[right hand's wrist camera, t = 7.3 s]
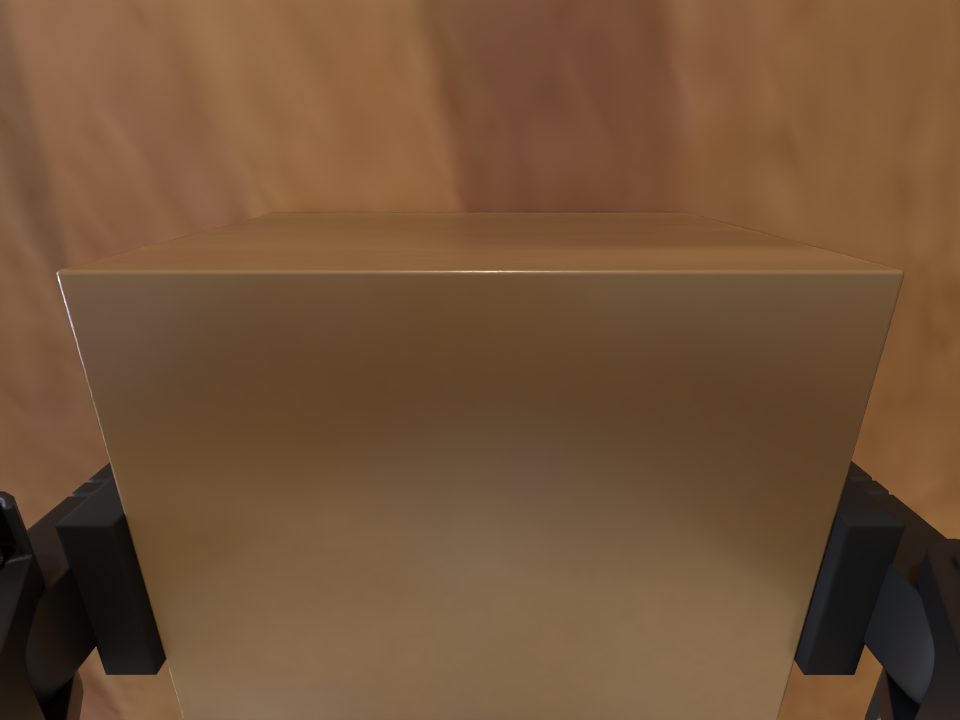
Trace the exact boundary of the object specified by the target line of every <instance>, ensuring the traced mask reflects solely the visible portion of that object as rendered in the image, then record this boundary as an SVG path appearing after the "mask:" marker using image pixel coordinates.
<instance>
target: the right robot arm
mask: <svg viewBox="0 0 960 720" xmlns="http://www.w3.org/2000/svg"><path fill="white" fill-rule="evenodd" d="M89 480H90V481H89V483H84V484H83V485H82V486H81V487H79V488H78V489H77V490H76V491H74V492H73V495H72V497H67V498H66V499H65V500H64V501H62V502H61V503H60V504H59V505H57V506H56V507H55V508H54V509H53V510H51V511H50V512H49V513H48V514H47V515H45V516H44V517H43V518H42V519H40V520H39V521H38V522H37V523H36V524H34V525H33V526H32V527H31V528H30V529H28V530H27V531H26V528H25V525H24V523H23V520H22V517H21V515H20V512H19V509H18V507H17V504H16V501H15V498H14V496H12V495H10V494H8V493H6V492H2V491H0V720H79V719H80V712H81V705H82V699H83V686H82V680H81V677H80V675H79V672H78V668H79V667H80V666H81V665H82V663H83V662H84V661H85V659H86V658H87V657H88V656H89V654H90V653H91V652H92V651H93V649H94V648H95V647H97V650H98V653H99V656H100V658H101V661H102V664H103V667H104V670H105V673H106V675H157V673H158V671H159V670H160V668H161V667H162V665H163V663H164V662H165V660H166V657H165V654H164V650H163V647H162V643H161V640H160V636H159V633H158V629H157V626H156V622H155V619H154V615H153V611H152V608H151V604H150V601H149V597H148V594H147V590H146V587H145V583H144V580H143V576H142V573H141V569H140V566H139V562H138V559H137V555H136V552H135V548H134V545H133V541H132V538H131V534H130V531H129V527H128V524H127V520H126V517H125V513H124V510H123V506H122V503H121V499H120V496H119V492H118V489H117V485H116V482H115V478H114V475H113V471H112V468H111V464H110V463H109V464H107V465H106V466H105V467H104V468H102V469H101V470H100V471H99V472H98V473H96V474H95V475H94V476H93V477H92V478H90V479H89ZM888 492H889V491H888V490H887V489H885V488H884V487H883V486H882V485H880V484H879V483H878V482H877V481H872V477H871V476H869V475H868V474H867V473H866V472H864V471H863V470H862V469H861V468H860V467H858V466H857V465H856V464H855V463H853V462H852V461H851V463H850V466H849V470H848V473H847V477H846V480H845V484H844V487H843V491H842V494H841V498H840V501H839V505H838V508H837V512H836V515H835V519H834V522H833V526H832V529H831V533H830V536H829V540H828V543H827V547H826V550H825V554H824V557H823V561H822V564H821V568H820V571H819V575H818V578H817V582H816V585H815V589H814V592H813V596H812V599H811V603H810V606H809V610H808V613H807V617H806V620H805V624H804V627H803V631H802V634H801V638H800V641H799V645H798V648H797V652H796V655H795V659H794V660H795V661H796V663H797V664H798V666H799V668H800V669H801V671H802V672H803V674H804V675H854V674H855V671H856V668H857V666H858V663H859V660H860V657H861V654H862V651H863V648H864V645H866V646H867V647H868V648H869V650H870V651H871V652H872V653H873V655H874V656H875V657H876V659H877V660H878V661H879V662H880V664H881V665H882V666H883V669H882V672H881V675H880V677H879V680H878V683H877V685H876V688H875V691H874V694H873V696H872V699H871V702H870V704H869V707H868V710H867V713H866V715H865V720H877V719H878V718H880V717H881V720H960V540H959V539H947V538H945V537H944V536H943V535H942V534H940V533H939V532H938V531H937V530H936V529H934V528H933V527H932V526H931V525H929V524H928V523H927V522H926V521H925V520H923V519H922V518H921V517H920V516H918V515H917V514H916V513H915V512H913V511H912V510H911V509H910V508H909V507H907V506H906V505H905V504H904V503H902V502H901V501H900V500H899V499H898V498H896V497H895V496H894V495H889V493H888Z"/></svg>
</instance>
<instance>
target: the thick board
mask: <svg viewBox="0 0 960 720" xmlns="http://www.w3.org/2000/svg"><path fill="white" fill-rule="evenodd" d="M903 277H904V272H903V271H902V270H900V269H896V268H893V267H889V266H885V265H881V264H878V263H874V262H870V261H866V260H862V259H859V258H855V257H851V256H847V255H844V254H840V253H836V252H832V251H829V250H825V249H821V248H817V247H813V246H810V245H806V244H802V243H798V242H795V241H791V240H787V239H783V238H779V237H776V236H772V235H768V234H764V233H761V232H757V231H753V230H749V229H746V228H742V227H738V226H734V225H730V224H727V223H723V222H719V221H715V220H712V219H708V218H704V217H700V216H697V215H693V214H689V213H271V214H267V215H263V216H260V217H256V218H252V219H248V220H245V221H241V222H237V223H233V224H230V225H226V226H222V227H218V228H215V229H211V230H207V231H203V232H200V233H196V234H192V235H188V236H185V237H181V238H177V239H173V240H170V241H166V242H162V243H158V244H155V245H151V246H147V247H143V248H139V249H136V250H132V251H128V252H124V253H121V254H117V255H113V256H109V257H106V258H102V259H98V260H94V261H91V262H87V263H83V264H79V265H76V266H72V267H68V268H64V269H61V270H59V271H57V278H58V282H59V285H60V289H61V292H62V296H63V299H64V303H65V306H66V310H67V313H68V317H69V320H70V324H71V327H72V331H73V334H74V338H75V341H76V345H77V348H78V352H79V355H80V359H81V362H82V366H83V369H84V373H85V376H86V380H87V384H88V387H89V391H90V394H91V398H92V401H93V405H94V408H95V412H96V415H97V419H98V422H99V426H100V429H101V433H102V436H103V440H104V443H105V447H106V450H107V454H108V457H109V461H110V464H111V468H112V471H113V475H114V478H115V482H116V485H117V489H118V492H119V496H120V499H121V503H122V506H123V510H124V513H125V517H126V520H127V524H128V527H129V531H130V534H131V538H132V541H133V545H134V548H135V552H136V555H137V559H138V562H139V566H140V569H141V573H142V576H143V580H144V583H145V587H146V590H147V594H148V597H149V601H150V604H151V608H152V611H153V615H154V619H155V622H156V626H157V629H158V633H159V636H160V640H161V643H162V647H163V650H164V654H165V657H166V661H167V664H168V668H169V671H170V675H171V678H172V682H173V685H174V689H175V692H176V696H177V699H178V703H179V706H180V710H181V713H182V717H183V720H777V718H778V714H779V711H780V707H781V704H782V700H783V697H784V693H785V690H786V686H787V683H788V679H789V676H790V673H791V669H792V666H793V662H794V659H795V655H796V652H797V648H798V645H799V641H800V638H801V634H802V631H803V627H804V624H805V620H806V617H807V613H808V610H809V606H810V603H811V599H812V596H813V592H814V589H815V585H816V582H817V578H818V575H819V571H820V568H821V564H822V561H823V557H824V554H825V550H826V547H827V543H828V540H829V536H830V533H831V529H832V526H833V522H834V519H835V515H836V512H837V508H838V505H839V501H840V498H841V494H842V491H843V487H844V484H845V480H846V477H847V473H848V470H849V466H850V463H851V459H852V456H853V452H854V449H855V445H856V442H857V438H858V435H859V431H860V428H861V424H862V421H863V417H864V414H865V410H866V407H867V403H868V400H869V396H870V393H871V389H872V386H873V382H874V379H875V375H876V372H877V368H878V365H879V361H880V358H881V354H882V351H883V347H884V344H885V340H886V337H887V333H888V330H889V326H890V323H891V319H892V316H893V312H894V309H895V305H896V302H897V298H898V295H899V291H900V288H901V284H902V281H903Z"/></svg>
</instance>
